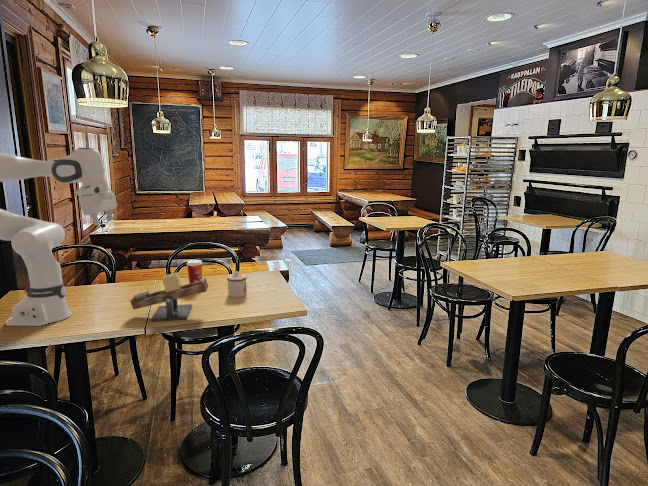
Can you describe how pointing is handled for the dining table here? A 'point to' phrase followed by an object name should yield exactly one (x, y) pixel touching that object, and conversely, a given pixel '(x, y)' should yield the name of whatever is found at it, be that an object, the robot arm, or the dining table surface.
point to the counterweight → (142, 296)
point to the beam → (171, 294)
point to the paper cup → (194, 270)
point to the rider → (172, 282)
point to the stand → (171, 311)
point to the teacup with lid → (237, 285)
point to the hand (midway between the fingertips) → (104, 222)
